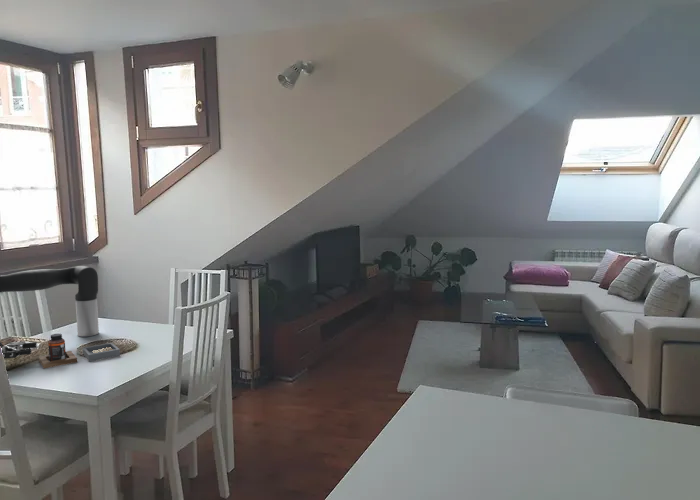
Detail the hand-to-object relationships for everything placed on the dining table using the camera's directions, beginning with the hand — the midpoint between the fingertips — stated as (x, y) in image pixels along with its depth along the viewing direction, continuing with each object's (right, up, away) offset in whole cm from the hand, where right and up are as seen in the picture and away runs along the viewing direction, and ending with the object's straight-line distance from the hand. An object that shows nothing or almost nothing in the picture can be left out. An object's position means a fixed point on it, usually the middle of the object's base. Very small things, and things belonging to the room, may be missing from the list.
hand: (33, 348), depth 211 cm
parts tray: (+22, -5, +12) cm, 25 cm away
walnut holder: (+8, -6, +3) cm, 11 cm away
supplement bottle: (+8, -6, +3) cm, 11 cm away
